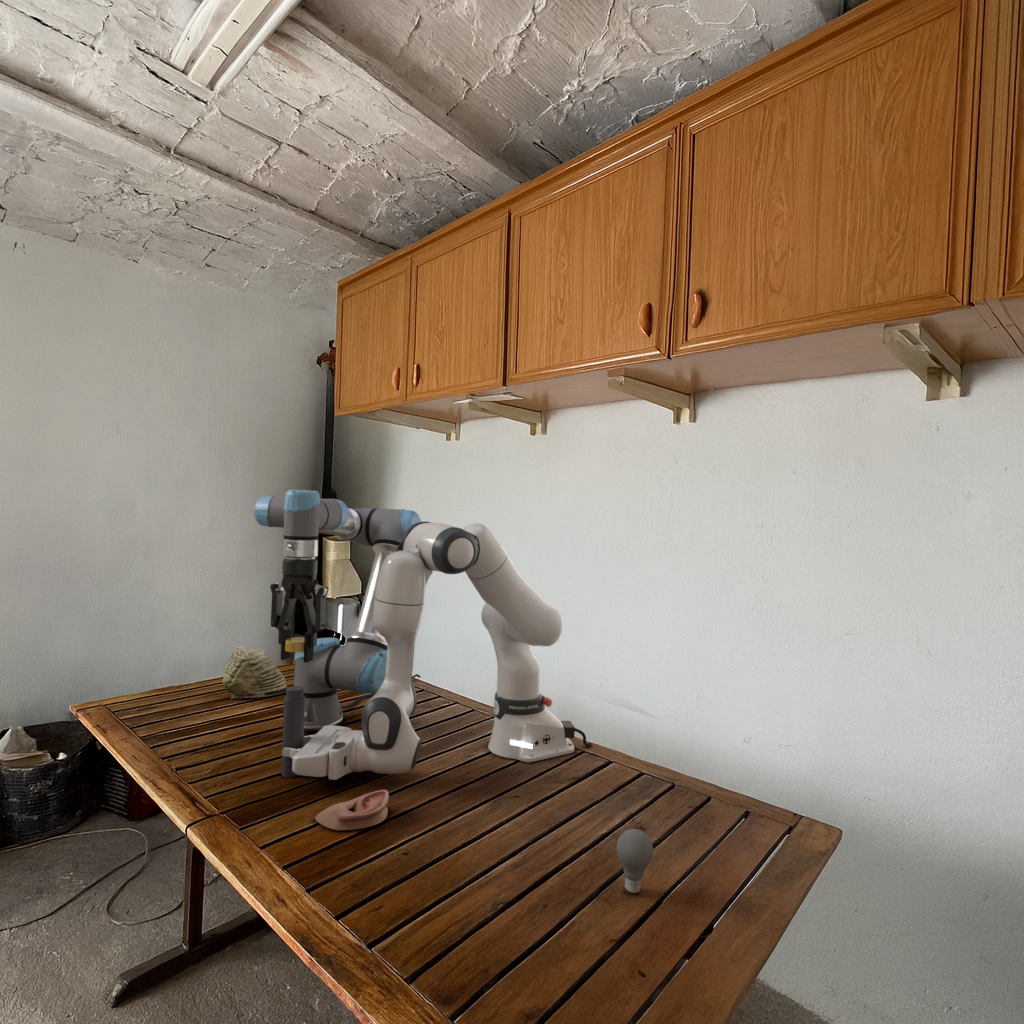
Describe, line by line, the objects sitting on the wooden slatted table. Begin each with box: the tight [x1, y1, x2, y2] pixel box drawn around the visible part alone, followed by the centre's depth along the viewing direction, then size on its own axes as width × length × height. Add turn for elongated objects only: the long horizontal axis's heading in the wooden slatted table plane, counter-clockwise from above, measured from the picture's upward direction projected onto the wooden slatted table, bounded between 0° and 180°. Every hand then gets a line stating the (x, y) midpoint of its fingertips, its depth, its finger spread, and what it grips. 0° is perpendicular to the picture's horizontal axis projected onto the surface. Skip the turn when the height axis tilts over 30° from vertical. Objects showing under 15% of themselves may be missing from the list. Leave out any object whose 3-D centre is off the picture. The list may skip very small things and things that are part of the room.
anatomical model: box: [314, 789, 390, 831], centre depth 126 cm, size 13×4×12 cm
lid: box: [285, 636, 304, 653], centre depth 144 cm, size 5×5×2 cm
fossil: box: [222, 646, 288, 699], centre depth 198 cm, size 9×18×15 cm, turn 132°
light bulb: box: [615, 828, 654, 894], centre depth 106 cm, size 6×6×10 cm
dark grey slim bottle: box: [280, 685, 305, 779], centre depth 144 cm, size 4×4×20 cm
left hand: (296, 659), depth 144 cm, fingers closed on lid, 5 cm apart
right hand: (288, 746), depth 144 cm, fingers closed on dark grey slim bottle, 4 cm apart
